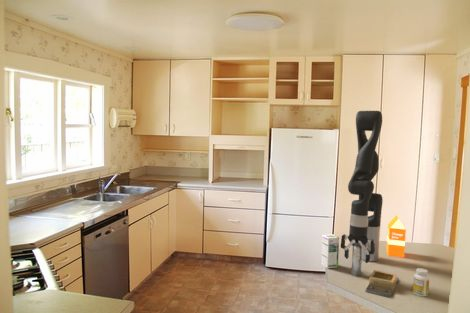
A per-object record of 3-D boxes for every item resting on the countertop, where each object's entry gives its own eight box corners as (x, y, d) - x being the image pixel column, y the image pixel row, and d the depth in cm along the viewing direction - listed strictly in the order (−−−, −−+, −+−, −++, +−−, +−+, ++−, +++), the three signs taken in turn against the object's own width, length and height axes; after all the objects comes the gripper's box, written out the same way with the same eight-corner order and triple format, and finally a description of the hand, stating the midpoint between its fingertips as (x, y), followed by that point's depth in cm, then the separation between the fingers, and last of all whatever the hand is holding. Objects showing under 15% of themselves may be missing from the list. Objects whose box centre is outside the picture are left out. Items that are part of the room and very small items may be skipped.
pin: (351, 271, 163) (353, 239, 162) (363, 274, 160) (365, 241, 159) (348, 275, 159) (350, 241, 158) (360, 277, 156) (362, 244, 155)
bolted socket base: (376, 274, 160) (376, 265, 160) (398, 279, 155) (398, 270, 155) (365, 291, 143) (366, 281, 142) (390, 297, 138) (390, 287, 137)
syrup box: (327, 268, 165) (328, 237, 164) (320, 264, 171) (322, 234, 170) (338, 267, 167) (339, 237, 166) (331, 263, 173) (333, 233, 172)
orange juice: (387, 255, 186) (390, 217, 184) (386, 250, 194) (388, 214, 193) (404, 257, 184) (406, 219, 182) (401, 252, 192) (404, 215, 191)
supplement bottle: (423, 290, 145) (424, 267, 144) (431, 296, 140) (432, 272, 139) (410, 290, 145) (411, 267, 144) (417, 296, 139) (419, 272, 139)
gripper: (377, 225, 157) (375, 261, 158) (344, 220, 165) (342, 254, 166) (374, 228, 151) (371, 266, 152) (340, 223, 159) (338, 259, 160)
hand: (356, 260), depth 159 cm, fingers open, 8 cm apart
